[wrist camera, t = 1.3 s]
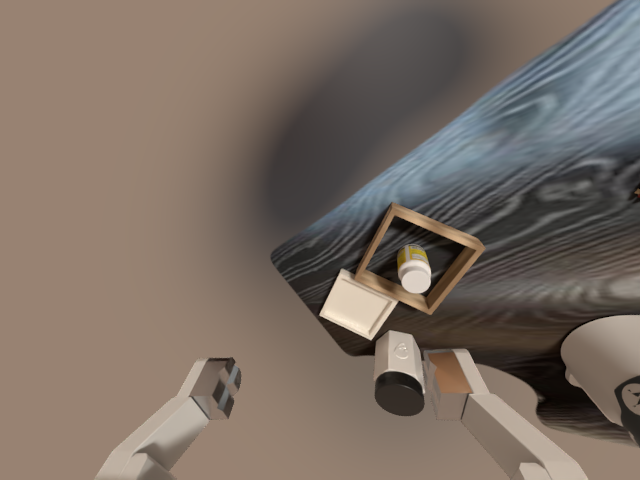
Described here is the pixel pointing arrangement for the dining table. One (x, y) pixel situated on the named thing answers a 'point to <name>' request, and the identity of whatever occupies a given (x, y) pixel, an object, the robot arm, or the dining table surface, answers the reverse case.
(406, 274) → the supplement bottle
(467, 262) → the frame
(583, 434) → the dining table surface
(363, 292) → the tray
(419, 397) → the jar
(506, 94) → the dining table surface
